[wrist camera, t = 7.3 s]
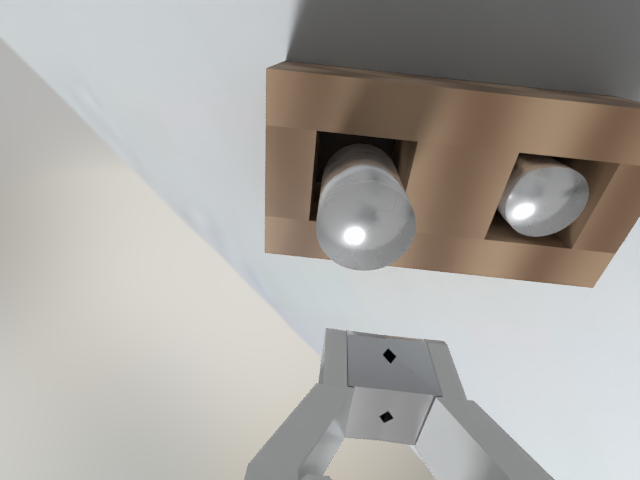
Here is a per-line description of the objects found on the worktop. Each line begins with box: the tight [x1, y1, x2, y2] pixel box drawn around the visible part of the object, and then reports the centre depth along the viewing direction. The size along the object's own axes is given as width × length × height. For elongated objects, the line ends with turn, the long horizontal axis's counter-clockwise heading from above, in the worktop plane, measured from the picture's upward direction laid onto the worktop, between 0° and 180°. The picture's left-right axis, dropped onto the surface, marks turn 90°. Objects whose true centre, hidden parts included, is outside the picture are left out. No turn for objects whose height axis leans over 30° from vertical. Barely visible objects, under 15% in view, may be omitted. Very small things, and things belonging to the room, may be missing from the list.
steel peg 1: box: [316, 143, 416, 270], centre depth 16 cm, size 4×4×6 cm
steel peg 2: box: [496, 153, 589, 237], centre depth 20 cm, size 4×4×6 cm
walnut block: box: [265, 61, 640, 288], centre depth 20 cm, size 20×10×6 cm, turn 85°
